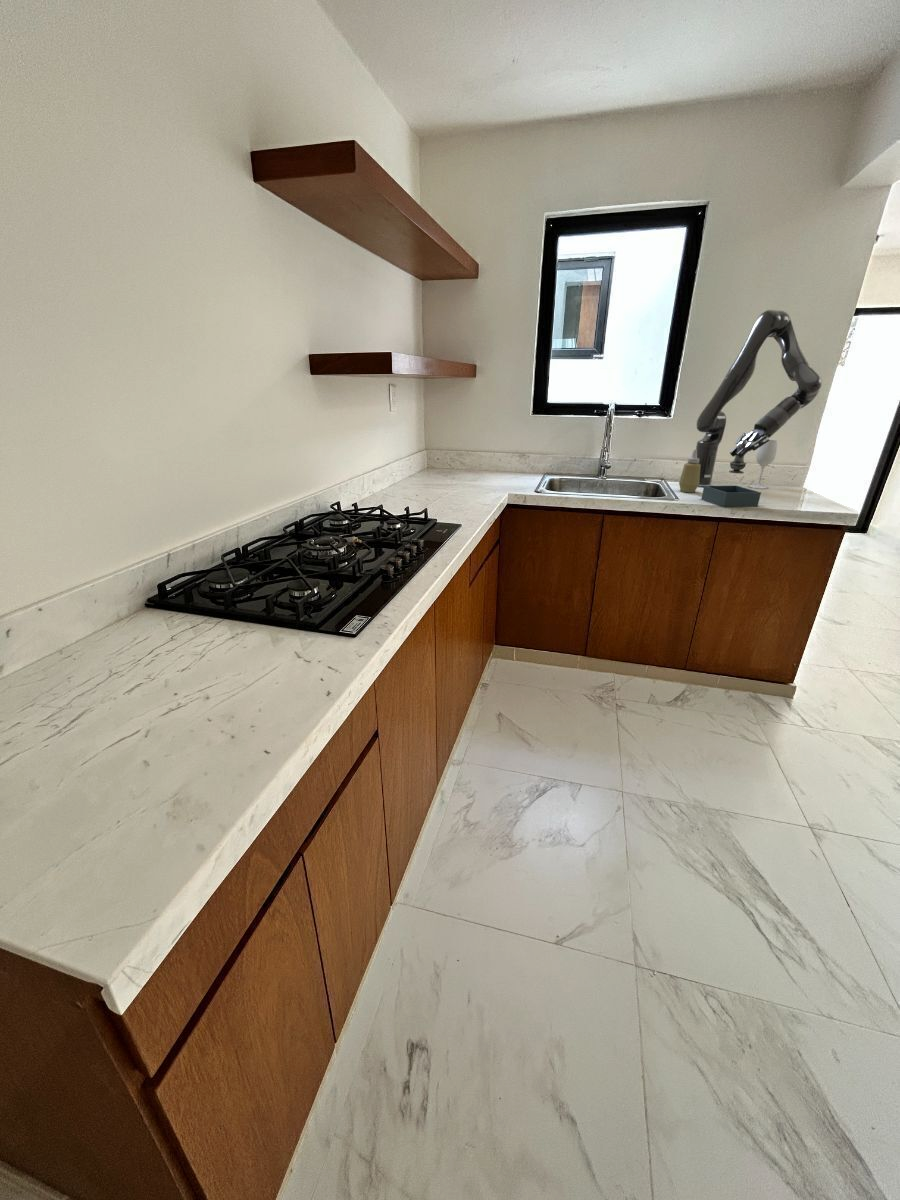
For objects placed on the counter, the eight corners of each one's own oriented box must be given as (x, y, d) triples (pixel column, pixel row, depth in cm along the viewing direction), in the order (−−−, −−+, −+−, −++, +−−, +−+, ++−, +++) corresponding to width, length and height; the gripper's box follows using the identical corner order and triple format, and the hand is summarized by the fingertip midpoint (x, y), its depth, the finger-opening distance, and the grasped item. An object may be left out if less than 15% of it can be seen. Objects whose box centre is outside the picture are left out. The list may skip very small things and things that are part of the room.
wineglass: (767, 486, 235) (779, 440, 227) (767, 489, 229) (779, 441, 221) (749, 485, 239) (760, 439, 231) (748, 487, 233) (759, 440, 225)
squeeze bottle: (677, 492, 221) (685, 450, 214) (677, 489, 228) (684, 448, 221) (697, 493, 218) (706, 451, 211) (696, 490, 225) (705, 449, 218)
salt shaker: (740, 471, 199) (747, 440, 194) (747, 473, 194) (754, 441, 189) (725, 471, 199) (731, 439, 195) (731, 473, 194) (738, 441, 189)
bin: (701, 499, 207) (704, 485, 205) (733, 498, 209) (736, 485, 207) (723, 507, 193) (726, 492, 191) (757, 506, 195) (761, 492, 193)
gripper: (754, 414, 195) (718, 446, 199) (780, 415, 182) (741, 450, 186) (763, 428, 198) (728, 460, 202) (790, 430, 185) (751, 465, 189)
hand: (735, 455), depth 194 cm, fingers closed on salt shaker, 3 cm apart
